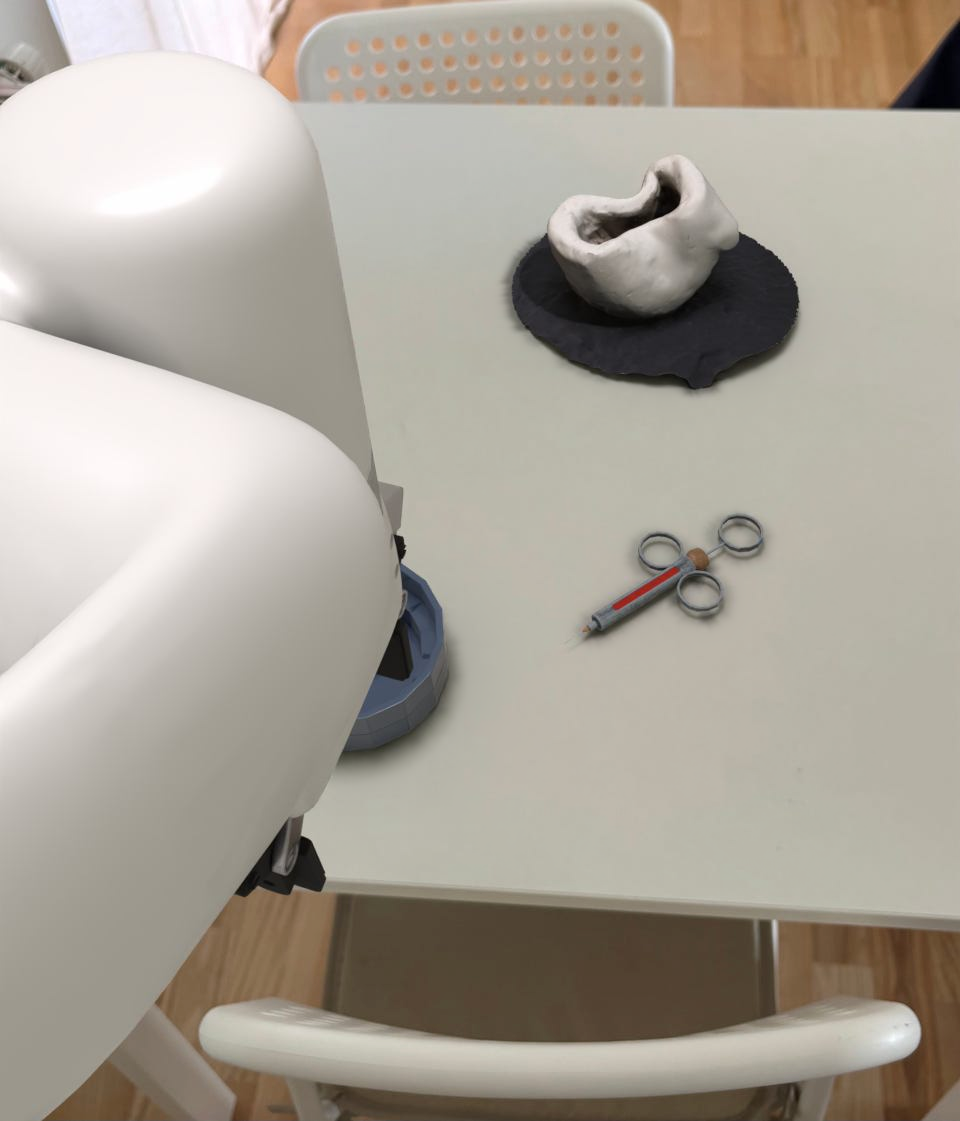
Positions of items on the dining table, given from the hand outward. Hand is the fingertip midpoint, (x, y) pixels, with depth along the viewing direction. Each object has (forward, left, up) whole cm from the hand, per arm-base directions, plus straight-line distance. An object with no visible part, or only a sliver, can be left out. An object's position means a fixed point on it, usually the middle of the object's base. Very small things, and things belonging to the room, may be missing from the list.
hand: (335, 765), depth 46 cm
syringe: (+30, -9, -26) cm, 41 cm away
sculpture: (+60, -1, -26) cm, 65 cm away
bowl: (+17, +10, -26) cm, 32 cm away
